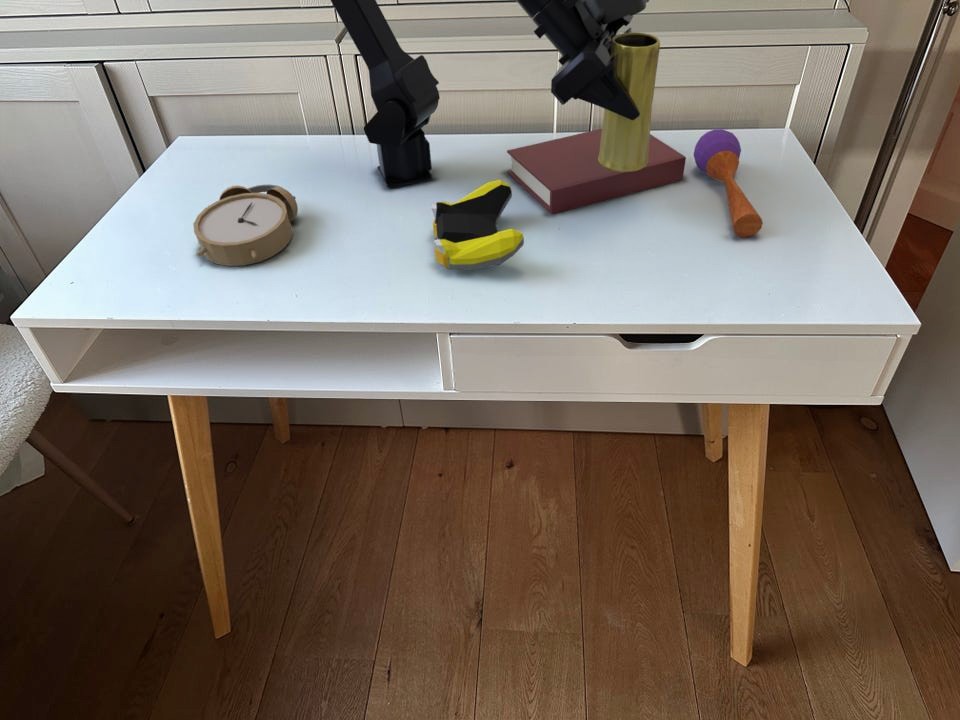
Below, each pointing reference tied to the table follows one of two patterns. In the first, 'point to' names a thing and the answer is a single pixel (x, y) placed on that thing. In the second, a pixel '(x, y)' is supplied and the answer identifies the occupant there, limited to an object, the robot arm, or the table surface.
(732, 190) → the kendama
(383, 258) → the table surface
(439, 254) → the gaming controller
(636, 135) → the vase
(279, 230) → the alarm clock
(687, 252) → the table surface
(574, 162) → the book
